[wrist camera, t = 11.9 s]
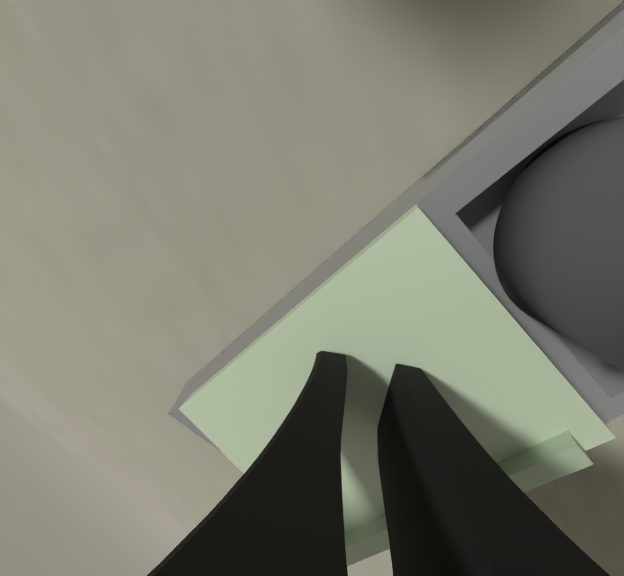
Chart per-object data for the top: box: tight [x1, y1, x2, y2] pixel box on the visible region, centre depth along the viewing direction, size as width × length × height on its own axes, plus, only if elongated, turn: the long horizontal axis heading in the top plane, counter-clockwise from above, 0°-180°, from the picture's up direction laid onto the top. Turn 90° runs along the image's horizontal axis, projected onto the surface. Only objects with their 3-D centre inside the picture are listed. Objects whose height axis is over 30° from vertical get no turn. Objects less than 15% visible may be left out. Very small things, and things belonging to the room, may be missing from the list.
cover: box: [179, 204, 616, 566], centre depth 10 cm, size 7×9×1 cm
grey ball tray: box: [168, 1, 624, 452], centre depth 10 cm, size 9×20×2 cm, turn 135°
